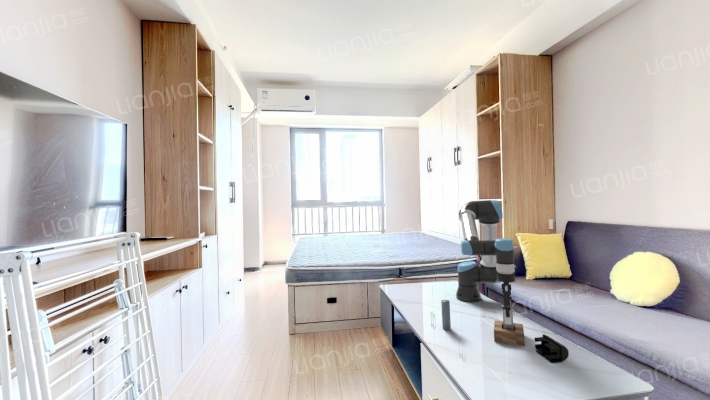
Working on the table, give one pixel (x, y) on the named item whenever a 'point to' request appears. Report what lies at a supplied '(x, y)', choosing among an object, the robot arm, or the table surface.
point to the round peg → (446, 314)
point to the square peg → (509, 326)
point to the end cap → (551, 349)
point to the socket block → (509, 334)
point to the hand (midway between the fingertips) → (508, 318)
